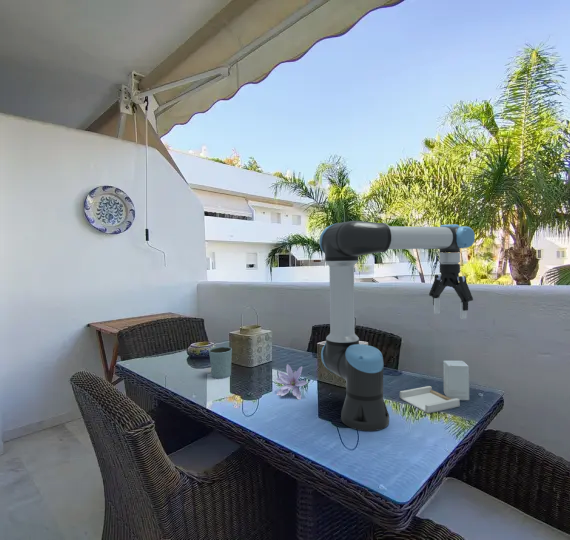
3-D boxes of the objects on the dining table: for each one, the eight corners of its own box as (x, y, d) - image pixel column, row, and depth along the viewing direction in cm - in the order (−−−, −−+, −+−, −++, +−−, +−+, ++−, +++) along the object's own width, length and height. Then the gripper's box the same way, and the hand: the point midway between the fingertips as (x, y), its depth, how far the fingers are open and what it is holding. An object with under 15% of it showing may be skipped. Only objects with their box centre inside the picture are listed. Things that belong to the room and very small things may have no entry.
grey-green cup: (234, 372, 170) (234, 346, 169) (229, 379, 160) (228, 352, 159) (213, 372, 171) (212, 346, 170) (206, 379, 161) (205, 352, 160)
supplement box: (469, 400, 133) (469, 366, 132) (448, 399, 134) (447, 365, 134) (463, 393, 140) (463, 360, 140) (443, 392, 142) (442, 359, 141)
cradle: (427, 413, 123) (427, 406, 123) (399, 398, 137) (399, 391, 136) (459, 406, 128) (459, 399, 128) (429, 392, 142) (429, 385, 142)
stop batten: (455, 405, 129) (455, 402, 129) (430, 393, 140) (430, 390, 140) (457, 404, 130) (457, 401, 129) (432, 393, 141) (432, 390, 141)
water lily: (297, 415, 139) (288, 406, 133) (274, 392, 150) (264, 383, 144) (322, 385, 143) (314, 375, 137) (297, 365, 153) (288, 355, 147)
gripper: (483, 263, 137) (483, 320, 138) (434, 262, 160) (434, 311, 161) (468, 264, 134) (468, 322, 135) (420, 263, 157) (420, 312, 158)
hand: (449, 316), depth 148 cm, fingers open, 13 cm apart
